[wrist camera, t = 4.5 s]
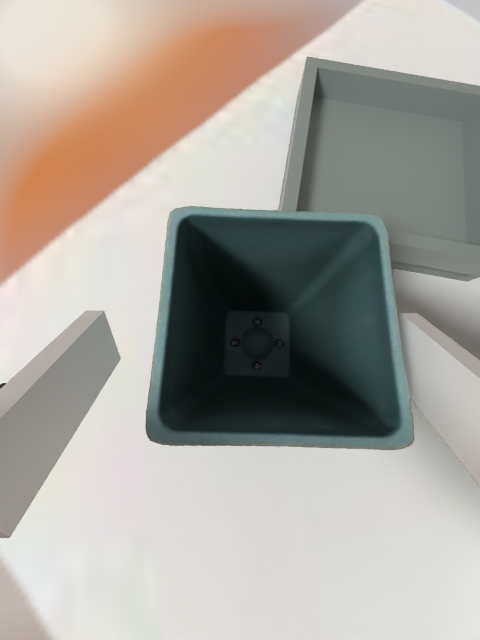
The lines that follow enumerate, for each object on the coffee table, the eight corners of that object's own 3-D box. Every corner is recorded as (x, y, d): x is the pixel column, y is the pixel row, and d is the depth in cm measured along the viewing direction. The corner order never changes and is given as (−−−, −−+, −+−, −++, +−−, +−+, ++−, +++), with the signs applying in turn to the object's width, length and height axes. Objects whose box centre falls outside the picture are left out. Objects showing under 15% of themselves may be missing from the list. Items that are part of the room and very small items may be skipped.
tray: (462, 126, 22) (497, 89, 19) (467, 281, 18) (512, 264, 15) (297, 98, 22) (306, 56, 19) (272, 246, 19) (279, 223, 16)
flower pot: (200, 284, 18) (167, 201, 9) (312, 288, 18) (388, 210, 9) (192, 403, 16) (141, 446, 7) (317, 406, 16) (419, 451, 7)
